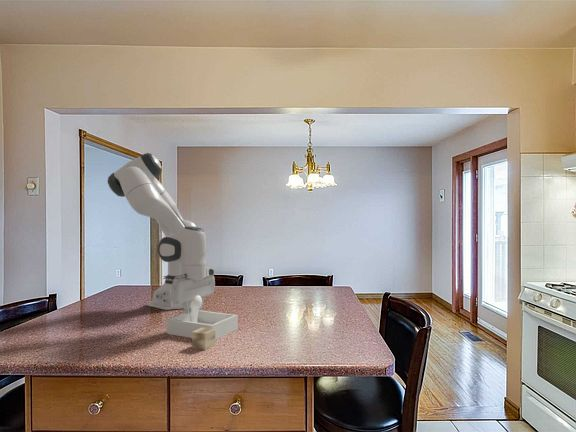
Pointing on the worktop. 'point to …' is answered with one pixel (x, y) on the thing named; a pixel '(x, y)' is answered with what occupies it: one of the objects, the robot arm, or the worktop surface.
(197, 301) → the lightbulb
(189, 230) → the robot arm
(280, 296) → the worktop surface
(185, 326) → the tote
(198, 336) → the maple cube
